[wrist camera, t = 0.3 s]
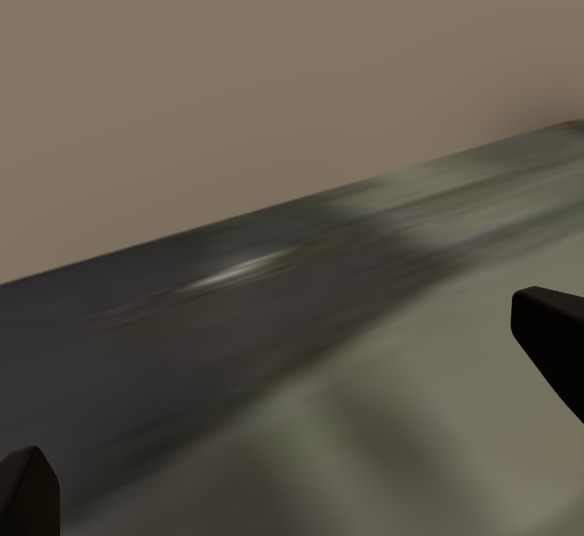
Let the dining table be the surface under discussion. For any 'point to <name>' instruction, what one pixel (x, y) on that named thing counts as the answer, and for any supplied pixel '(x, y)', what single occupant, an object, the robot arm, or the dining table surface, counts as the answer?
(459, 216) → the dining table surface
